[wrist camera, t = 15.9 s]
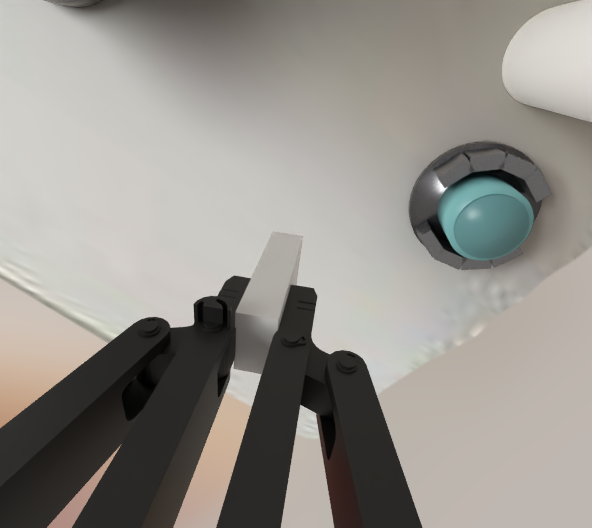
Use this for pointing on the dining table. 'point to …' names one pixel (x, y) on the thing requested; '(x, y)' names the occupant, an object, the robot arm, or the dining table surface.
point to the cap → (484, 216)
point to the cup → (553, 61)
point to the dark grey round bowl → (454, 168)
